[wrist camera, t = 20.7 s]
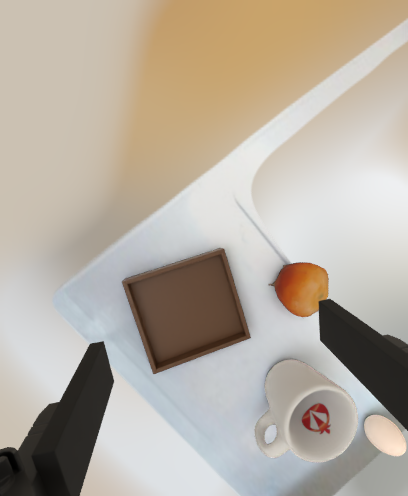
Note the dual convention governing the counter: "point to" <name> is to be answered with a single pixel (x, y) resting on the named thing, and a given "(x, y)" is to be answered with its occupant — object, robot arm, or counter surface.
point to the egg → (385, 435)
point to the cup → (306, 414)
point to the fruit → (302, 287)
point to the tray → (186, 309)
